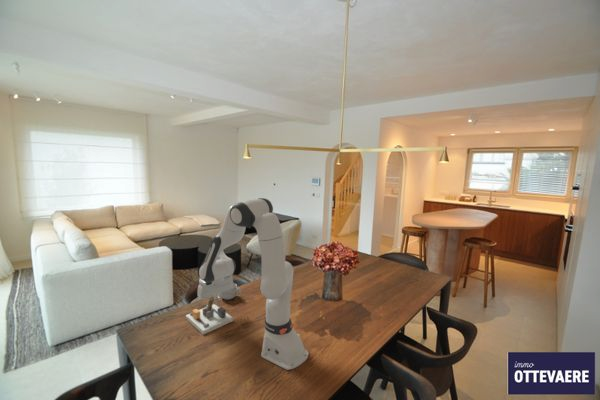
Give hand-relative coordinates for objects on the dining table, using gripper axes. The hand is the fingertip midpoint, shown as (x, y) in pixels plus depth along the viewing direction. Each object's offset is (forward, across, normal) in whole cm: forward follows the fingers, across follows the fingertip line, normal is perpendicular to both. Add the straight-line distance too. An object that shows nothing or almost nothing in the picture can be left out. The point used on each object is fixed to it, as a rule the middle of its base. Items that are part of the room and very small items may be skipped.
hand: (216, 300), depth 148 cm
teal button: (+6, +1, -6) cm, 9 cm away
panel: (+9, +5, +1) cm, 10 cm away
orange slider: (+6, +11, -2) cm, 13 cm away
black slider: (+6, 0, +5) cm, 8 cm away
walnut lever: (+5, +5, 0) cm, 7 cm away
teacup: (+9, -16, -12) cm, 22 cm away
